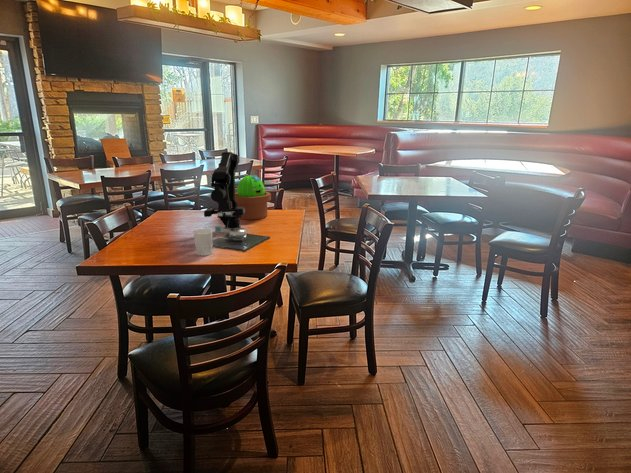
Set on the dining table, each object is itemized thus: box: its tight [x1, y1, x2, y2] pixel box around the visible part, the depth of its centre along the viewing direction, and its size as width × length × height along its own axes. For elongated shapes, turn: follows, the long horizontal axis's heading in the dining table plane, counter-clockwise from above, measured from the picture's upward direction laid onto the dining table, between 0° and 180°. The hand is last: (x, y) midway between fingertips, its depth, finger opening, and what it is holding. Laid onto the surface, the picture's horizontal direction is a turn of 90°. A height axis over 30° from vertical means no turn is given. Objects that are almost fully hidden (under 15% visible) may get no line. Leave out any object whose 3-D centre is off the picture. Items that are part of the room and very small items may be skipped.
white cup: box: [193, 228, 214, 257], centre depth 178 cm, size 8×8×10 cm
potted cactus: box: [235, 174, 272, 221], centre depth 239 cm, size 22×22×25 cm
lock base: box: [212, 233, 271, 252], centre depth 195 cm, size 24×22×2 cm
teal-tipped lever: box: [214, 225, 248, 239], centre depth 196 cm, size 17×8×3 cm, turn 61°
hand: (226, 228), depth 199 cm, fingers closed, pressing on teal-tipped lever
